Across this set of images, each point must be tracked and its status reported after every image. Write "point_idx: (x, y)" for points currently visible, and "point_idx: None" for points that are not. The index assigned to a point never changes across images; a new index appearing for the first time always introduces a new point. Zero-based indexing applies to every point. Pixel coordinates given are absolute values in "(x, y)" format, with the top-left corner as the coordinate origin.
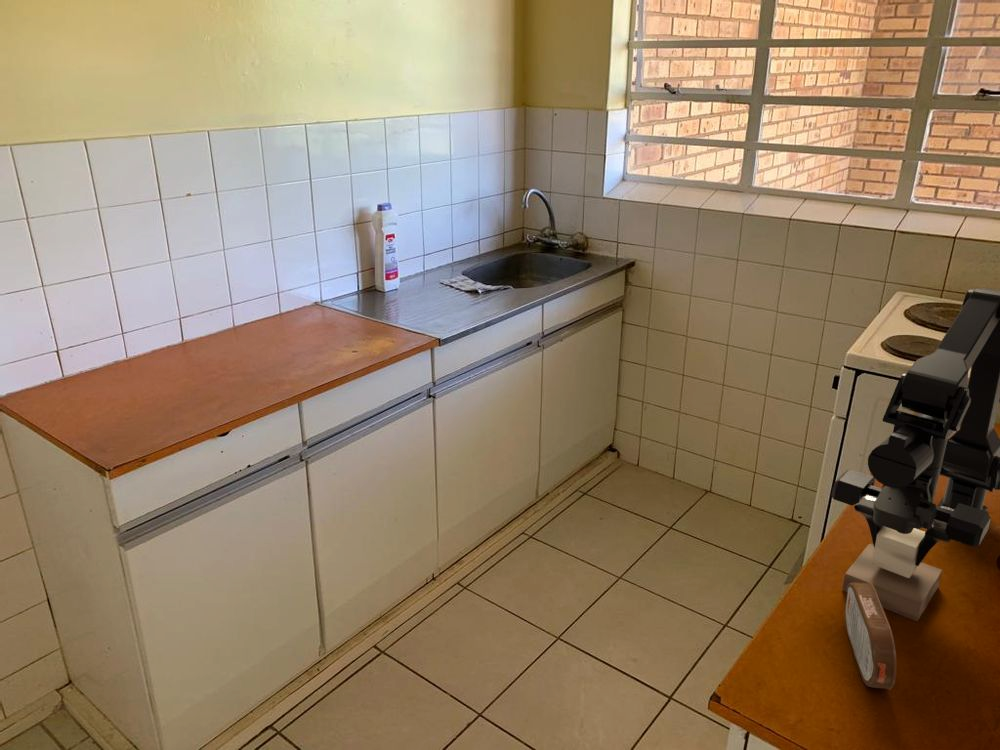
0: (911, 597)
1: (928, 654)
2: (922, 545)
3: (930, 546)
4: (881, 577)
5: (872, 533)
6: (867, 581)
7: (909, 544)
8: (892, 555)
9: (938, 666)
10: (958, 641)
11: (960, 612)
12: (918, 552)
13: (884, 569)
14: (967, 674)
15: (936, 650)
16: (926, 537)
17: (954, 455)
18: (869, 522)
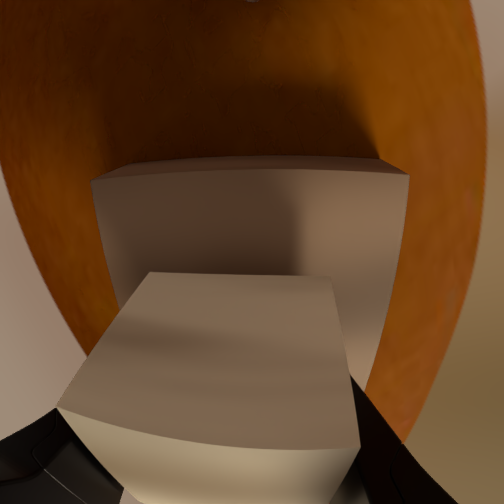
0: (125, 191)
1: (69, 53)
2: (66, 434)
3: (31, 430)
4: (270, 248)
5: (383, 434)
6: (310, 175)
7: (100, 428)
8: (220, 337)
9: (46, 37)
10: (44, 166)
11: (89, 285)
12: None
13: None
14: (9, 72)
15: (60, 85)
16: (4, 474)
17: None
18: (431, 495)
